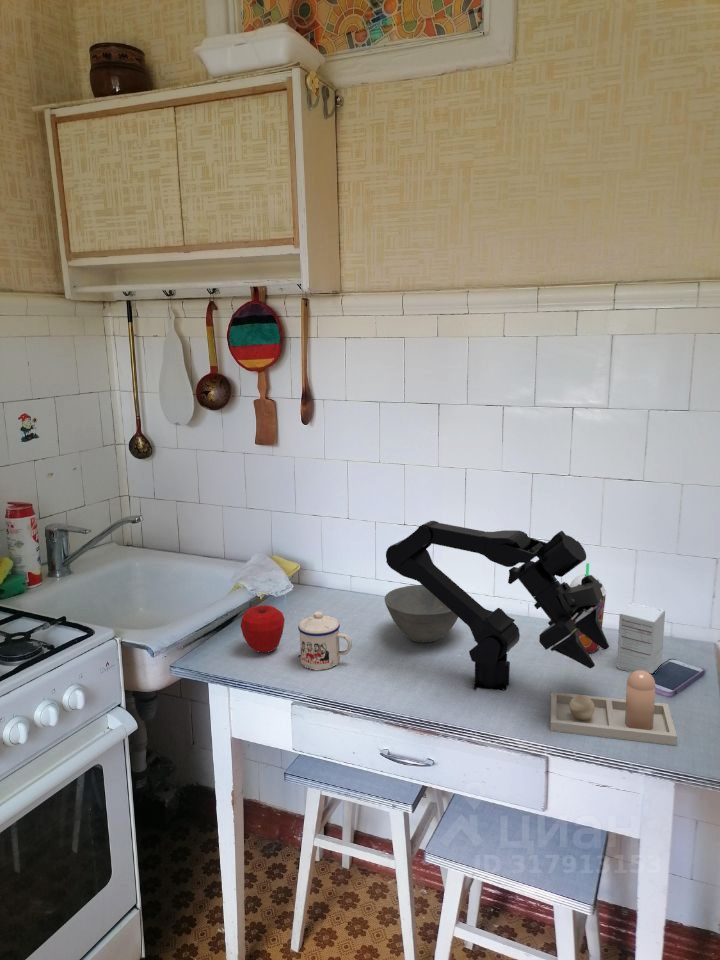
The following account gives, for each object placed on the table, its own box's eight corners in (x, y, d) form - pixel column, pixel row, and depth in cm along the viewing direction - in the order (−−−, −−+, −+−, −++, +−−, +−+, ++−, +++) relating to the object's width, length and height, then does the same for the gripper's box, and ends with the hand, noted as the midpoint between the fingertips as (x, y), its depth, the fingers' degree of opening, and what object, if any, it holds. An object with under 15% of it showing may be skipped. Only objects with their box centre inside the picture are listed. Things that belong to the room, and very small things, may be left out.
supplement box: (627, 655, 158) (630, 601, 156) (662, 665, 154) (666, 609, 151) (615, 668, 153) (618, 612, 150) (651, 678, 148) (655, 621, 145)
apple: (235, 656, 163) (232, 611, 161) (254, 639, 172) (251, 596, 170) (275, 662, 160) (272, 616, 158) (292, 643, 169) (290, 600, 166)
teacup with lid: (293, 668, 157) (290, 618, 154) (309, 650, 165) (307, 602, 163) (345, 675, 153) (343, 624, 150) (359, 657, 161) (357, 608, 159)
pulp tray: (550, 733, 130) (550, 722, 129) (550, 702, 140) (551, 691, 139) (676, 748, 124) (677, 736, 124) (667, 715, 134) (667, 703, 134)
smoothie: (581, 636, 168) (585, 555, 164) (611, 649, 161) (615, 564, 157) (557, 645, 164) (559, 562, 159) (586, 659, 157) (590, 572, 153)
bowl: (478, 649, 163) (478, 607, 161) (398, 660, 159) (397, 618, 157) (448, 617, 181) (448, 579, 179) (376, 627, 177) (375, 588, 175)
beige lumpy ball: (569, 723, 132) (570, 701, 131) (568, 710, 136) (569, 689, 135) (594, 725, 131) (595, 703, 130) (593, 713, 135) (594, 691, 134)
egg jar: (622, 726, 130) (624, 674, 128) (628, 714, 134) (630, 663, 132) (650, 734, 127) (653, 680, 125) (655, 721, 131) (658, 669, 129)
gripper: (560, 580, 125) (621, 655, 121) (592, 552, 140) (647, 618, 136) (515, 613, 131) (571, 685, 127) (550, 583, 146) (601, 647, 142)
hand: (600, 657), depth 133 cm, fingers open, 9 cm apart
